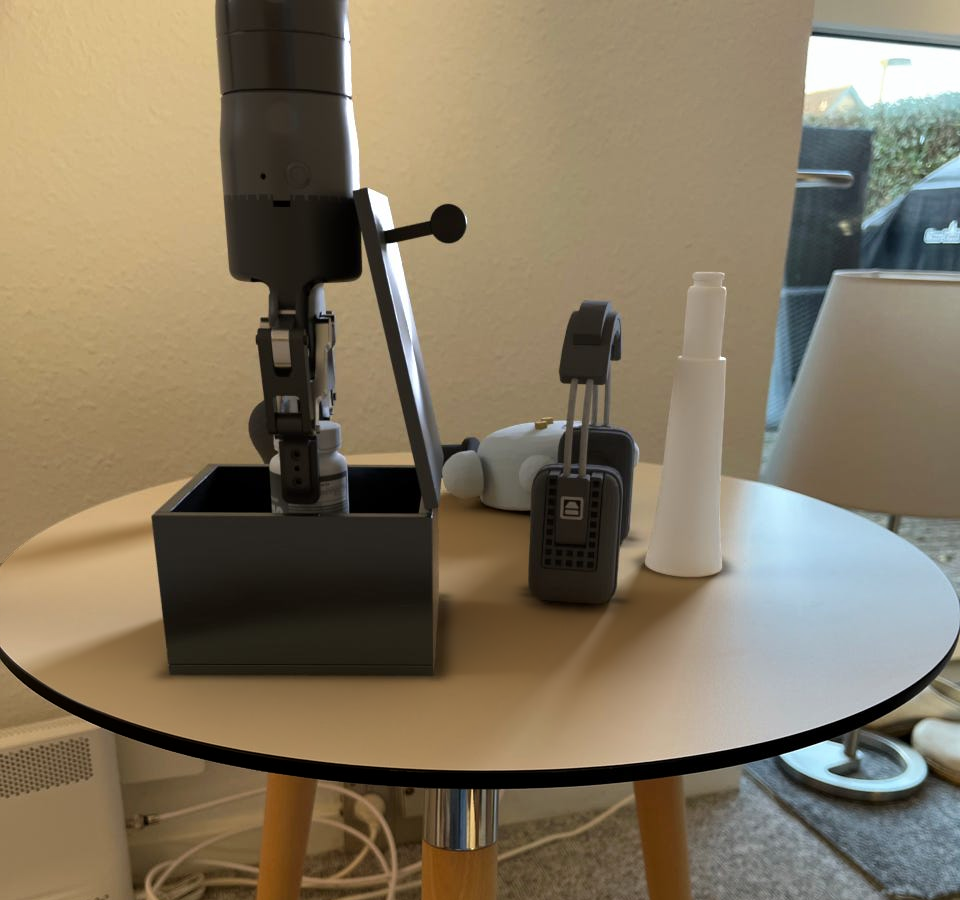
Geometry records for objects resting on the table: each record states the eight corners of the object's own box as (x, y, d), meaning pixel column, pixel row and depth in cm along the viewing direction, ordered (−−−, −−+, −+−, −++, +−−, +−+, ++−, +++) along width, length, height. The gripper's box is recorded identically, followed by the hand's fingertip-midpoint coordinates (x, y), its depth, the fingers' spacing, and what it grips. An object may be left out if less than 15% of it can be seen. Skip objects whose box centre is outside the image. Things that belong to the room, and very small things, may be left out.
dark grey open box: (169, 677, 60) (150, 515, 56) (220, 599, 73) (208, 463, 69) (433, 677, 60) (432, 517, 56) (439, 600, 73) (438, 464, 69)
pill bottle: (278, 547, 66) (269, 418, 63) (351, 546, 67) (346, 418, 64) (272, 570, 62) (262, 432, 59) (350, 568, 62) (345, 431, 59)
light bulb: (253, 510, 96) (245, 402, 92) (253, 495, 101) (246, 393, 97) (314, 507, 97) (308, 400, 93) (310, 493, 102) (305, 391, 98)
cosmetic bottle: (718, 582, 77) (749, 274, 69) (639, 573, 79) (660, 273, 71) (725, 559, 83) (754, 271, 74) (650, 552, 84) (671, 270, 76)
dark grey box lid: (351, 190, 50) (456, 167, 50) (374, 198, 63) (458, 179, 62) (425, 510, 56) (518, 491, 56) (432, 459, 69) (508, 443, 69)
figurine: (653, 486, 104) (473, 488, 111) (651, 402, 101) (465, 410, 108) (611, 529, 89) (405, 528, 96) (606, 431, 86) (394, 438, 93)
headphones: (612, 617, 70) (631, 313, 62) (521, 610, 71) (529, 310, 64) (631, 531, 90) (647, 293, 83) (560, 526, 91) (569, 291, 84)
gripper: (249, 194, 63) (268, 466, 69) (192, 184, 50) (221, 522, 56) (370, 195, 63) (378, 467, 70) (345, 186, 50) (357, 523, 56)
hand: (308, 490), depth 63 cm, fingers closed on pill bottle, 4 cm apart
